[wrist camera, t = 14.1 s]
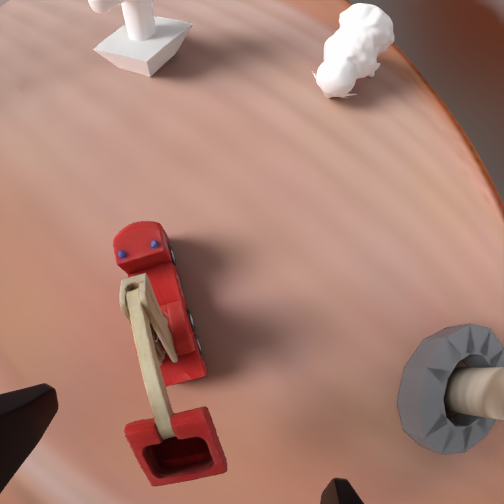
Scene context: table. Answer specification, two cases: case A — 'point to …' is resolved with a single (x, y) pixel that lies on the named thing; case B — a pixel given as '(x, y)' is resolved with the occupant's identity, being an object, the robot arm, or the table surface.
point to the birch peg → (476, 392)
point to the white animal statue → (354, 49)
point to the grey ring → (434, 385)
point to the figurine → (140, 36)
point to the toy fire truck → (164, 360)
